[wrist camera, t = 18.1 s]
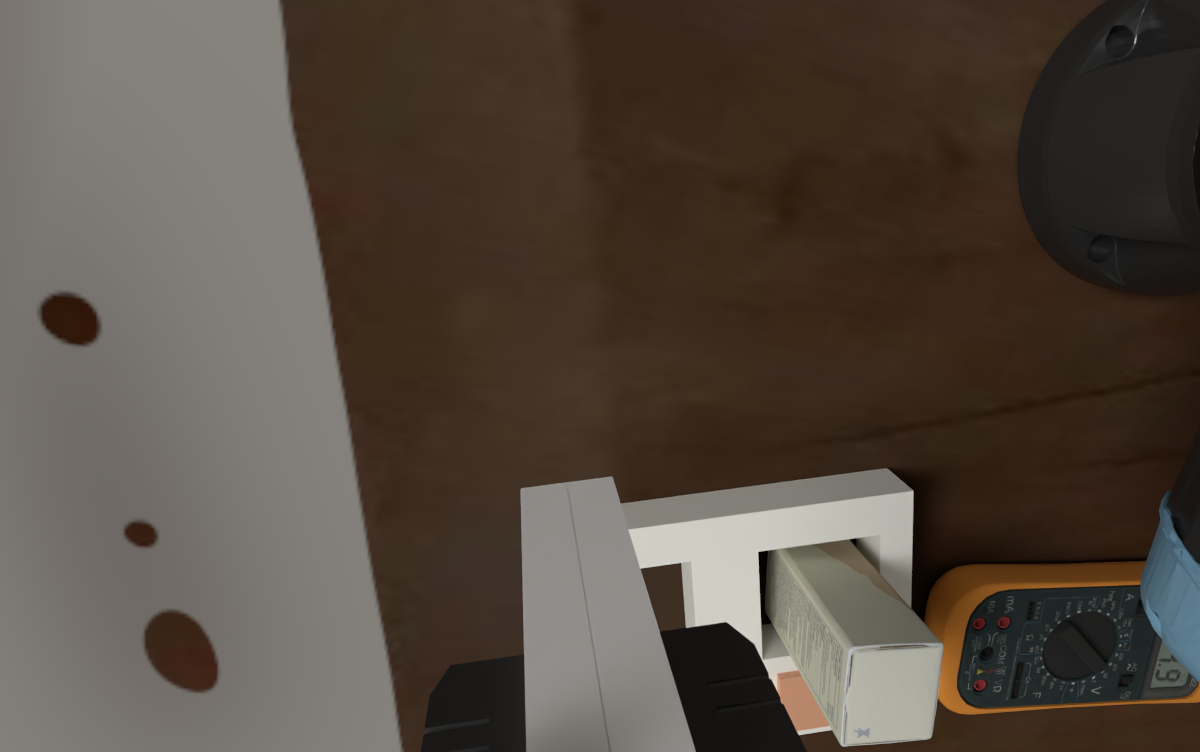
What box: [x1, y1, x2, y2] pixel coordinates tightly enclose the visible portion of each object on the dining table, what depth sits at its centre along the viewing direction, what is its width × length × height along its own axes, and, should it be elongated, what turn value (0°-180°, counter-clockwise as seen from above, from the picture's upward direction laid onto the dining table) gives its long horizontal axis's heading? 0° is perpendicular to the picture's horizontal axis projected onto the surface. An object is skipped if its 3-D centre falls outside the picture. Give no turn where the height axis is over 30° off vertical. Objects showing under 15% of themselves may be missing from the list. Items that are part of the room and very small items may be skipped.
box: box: [765, 539, 944, 746], centre depth 39 cm, size 5×4×11 cm
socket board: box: [621, 468, 914, 735], centre depth 43 cm, size 20×14×4 cm
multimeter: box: [924, 561, 1200, 715], centre depth 46 cm, size 9×18×3 cm, turn 88°
